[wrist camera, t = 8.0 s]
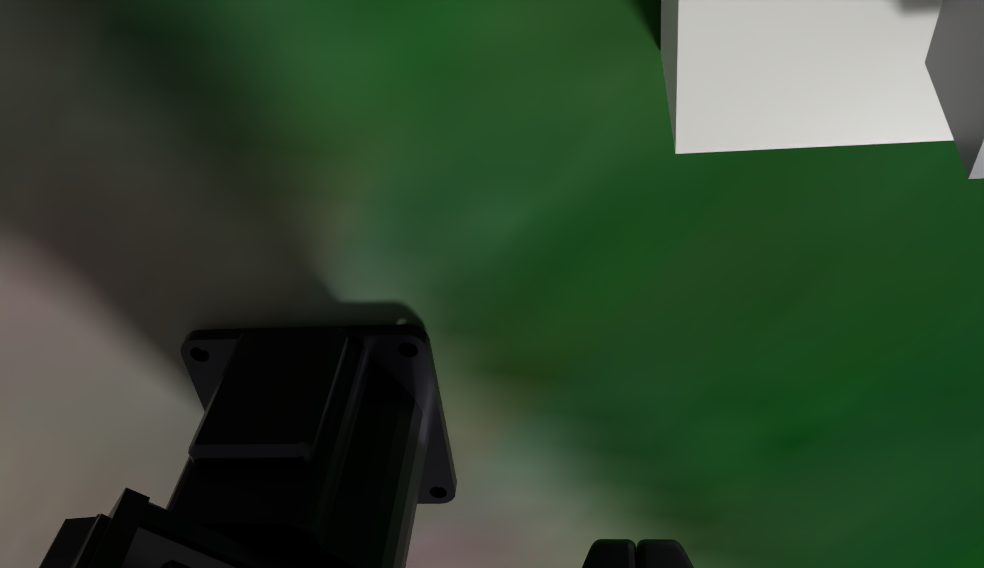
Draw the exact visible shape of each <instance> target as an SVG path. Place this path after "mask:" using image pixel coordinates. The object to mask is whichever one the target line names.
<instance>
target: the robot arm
mask: <svg viewBox="0 0 984 568" xmlns="http://www.w3.org/2000/svg"><path fill="white" fill-rule="evenodd" d="M405 342H408V343H412V344H414V345H415V346H414V347H409V346H406V345H404V344H403V343H405ZM198 347H199V348H203V349H205V350H206V351H207V352H206V351H202V350H200V349H199V348H198ZM181 355H182V357H183V360H184V362H185V365H186V367H187V370H188V372H189V374H190V377H191V379H192V382H193V384H194V386H195V389H196V391H197V394H198V396H199V398H200V401H201V403H202V406H203V408H204V411H205V413H204V416H203V418H202V420H201V422H200V424H199V427H198V429H197V431H196V433H195V435H194V438H193V440H192V442H191V444H190V447H189V452H188V453H189V458H188V460H187V462H186V464H185V467H184V469H183V471H182V473H181V476H180V478H179V480H178V482H177V485H176V487H175V489H174V491H173V494H172V496H171V498H170V500H169V503H168V505H167V507H166V509H164V508H162V507H160V506H157V505H155V504H153V503H150V502H149V499H150V497H147V496H145V495H143V494H140V493H138V492H136V491H133V490H131V489H129V488H125V490H124V491H123V493H122V494H121V496H120V498H119V499H118V501H117V502H116V504H115V506H114V507H113V509H112V510H111V512H110V514H109V515H108V516H106V515H103V514H97V516H96V517H87V518H74V519H66V520H65V521H64V523H63V525H62V527H61V528H60V530H59V532H58V534H57V536H56V537H55V539H54V541H53V543H52V545H51V546H50V548H49V550H48V552H47V554H46V556H45V557H44V559H43V561H42V563H41V565H40V567H39V568H405V567H406V561H407V556H408V550H409V545H410V539H411V534H412V528H413V523H414V517H415V512H416V506H417V504H441V503H447V502H449V501H451V500H453V498H454V497H455V492H456V485H457V480H456V474H455V469H454V464H453V459H452V453H451V448H450V443H449V438H448V433H447V427H446V422H445V417H444V412H443V407H442V401H441V396H440V391H439V386H438V381H437V375H436V370H435V365H434V360H433V355H432V349H431V344H430V339H429V337H428V335H427V333H426V332H425V331H424V330H423V329H422V328H419V327H417V326H415V325H408V324H405V325H367V326H329V327H291V328H253V329H215V330H196V331H192V332H191V333H189V334H188V335H187V337H186V339H185V341H184V343H183V345H182V347H181ZM582 568H694V567H693V565H692V564H691V562H690V560H689V558H688V556H687V554H686V552H685V550H684V549H683V547H682V546H681V545H680V543H679V542H677V541H675V540H663V539H644V540H641V541H639V542H638V544H637V553H636V545H635V543H634V542H633V541H631V540H628V539H599V540H597V541H595V542H594V543H593V544H592V546H591V548H590V550H589V552H588V555H587V557H586V560H585V562H584V564H583V567H582Z"/></svg>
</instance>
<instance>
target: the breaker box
mask: <svg viewBox="0 0 984 568" xmlns="http://www.w3.org/2000/svg"><path fill="white" fill-rule="evenodd" d="M942 2H943V0H661V58H662V65H663V72H664V79H665V85H666V92H667V99H668V106H669V112H670V119H671V126H672V133H673V140H674V146H675V153H676V154H680V153H700V152H721V151H741V150H762V149H783V148H803V147H824V146H844V145H865V144H885V143H906V142H926V141H947V140H954V139H953V136H952V134H951V131H950V128H949V126H948V123H947V120H946V118H945V115H944V113H943V110H942V107H941V105H940V102H939V99H938V97H937V94H936V91H935V89H934V86H933V84H932V81H931V78H930V76H929V73H928V70H927V68H926V65H925V60H926V56H927V53H928V49H929V46H930V43H931V39H932V36H933V33H934V29H935V26H936V22H937V19H938V16H939V12H940V9H941V6H942Z"/></svg>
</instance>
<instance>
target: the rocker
mask: <svg viewBox="0 0 984 568" xmlns="http://www.w3.org/2000/svg"><path fill="white" fill-rule="evenodd" d="M925 65H926V68H927V70H928V73H929V76H930V78H931V81H932V84H933V86H934V89H935V91H936V94H937V97H938V99H939V102H940V105H941V107H942V110H943V113H944V115H945V118H946V120H947V123H948V126H949V128H950V131H951V134H952V136H953V139H954V141H955V144H956V147H957V149H958V152H959V155H960V157H961V160H962V163H963V165H964V168H965V170H966V173H967V176H968V178H969V179H976V178H984V0H943V2H942V6H941V9H940V12H939V16H938V19H937V22H936V26H935V29H934V33H933V36H932V39H931V43H930V46H929V49H928V53H927V56H926V60H925Z"/></svg>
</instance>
